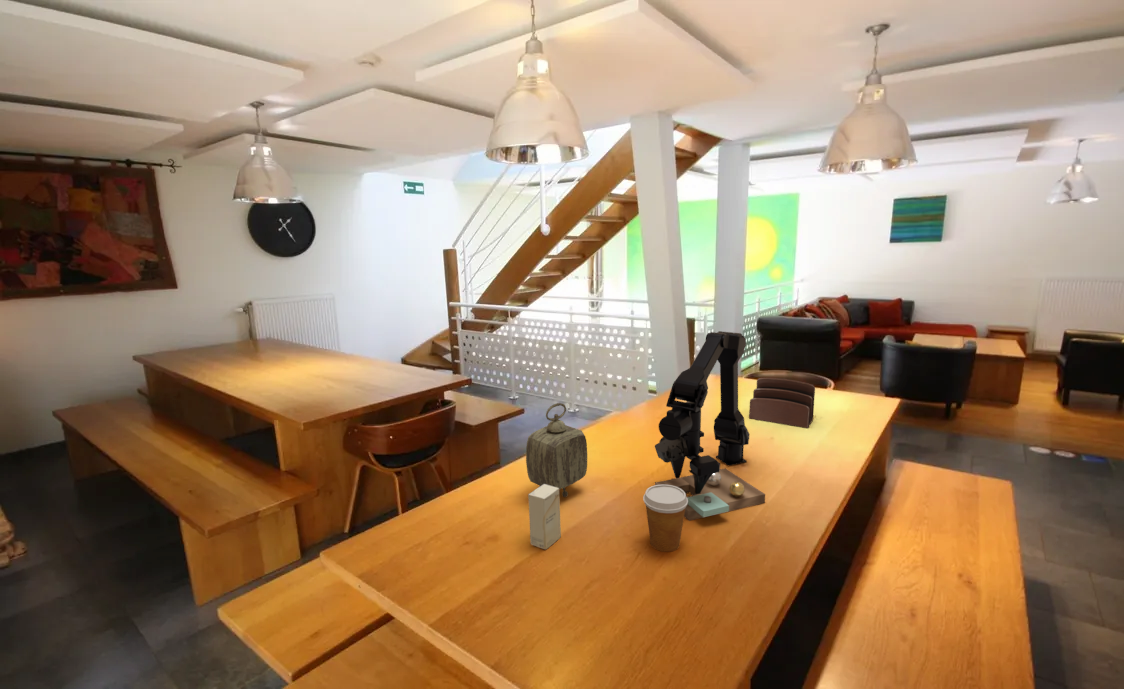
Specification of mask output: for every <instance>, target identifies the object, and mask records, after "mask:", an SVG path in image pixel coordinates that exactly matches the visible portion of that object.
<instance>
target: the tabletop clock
mask: <svg viewBox="0 0 1124 689" xmlns="http://www.w3.org/2000/svg"><path fill="white" fill-rule="evenodd" d="M560 406H562V408H564V409H563V412H562V413H561V414H558V413H555V414H554V415H553V416H554V417H553V418H552V417H549V412H550V411H551V410H552V409H553V408H556V407H560ZM566 412H567V407H566V405H565V404H564V403H563V402H557V403H555V404H552V405H551V406H549V408H547V410H546V412H545V417H546V419H547V420H548V421H549V422H548V423H547V425H546V426H543V427H541V428H539V429H537V430H535V431H533V432H532V433H531V434H530V435H529V436H528V437H527V440H526V447H525V449H526V450H525V454H526V455H525V463H526V470H527V471H526V472H527V476H528V479H529V481H530V482H531V483H534V484H535V485H537V486H538V487H540V486H542V485H543V484H547V485H550V486H554V487H557V488H559V490H561V489H562V492H561V494H562V495H561V496H562V497H563V498H567V497H568V496H569V493H568V491H567V490H566V487H569V486H571V485H573V484H575V483H576V482H578V481H580V480H582V479H583V478H584V477H586V475H587V470H588V444H587V438H586V435H585V434H584V431H583V430H581V429H579V428H576V427H572V426H569V425H566V424H565V422H564V421H563V420H561V418H562V417H564V415H565V414H566Z"/></svg>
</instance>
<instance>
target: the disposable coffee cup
mask: <svg viewBox="0 0 1124 689" xmlns="http://www.w3.org/2000/svg"><path fill="white" fill-rule="evenodd" d="M687 497H688V496H687V493H686V494H685V492H684V491H683V490H682V489H680V488H678V487H676V486H672V485H664V484H661V485H655V484H654V485H652V486H649V487H648V488H646V490H645V492H644V494H643V498H642V499H643V500H642V501H643V502H644V505H645V511H646V518H647V519H646V520H647V526H648V533H649V541H650V545H651V547H652V548H654V549H655V550H657V551H660V552H664V553H668V552H674V551H676V550H678V549H679V548H680V544H681V539H682V538H681V537H682V531H683V526H684V518H685V517H684V513H685V508H686V506H687V504H688V498H687Z"/></svg>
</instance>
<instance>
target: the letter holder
mask: <svg viewBox="0 0 1124 689" xmlns="http://www.w3.org/2000/svg"><path fill="white" fill-rule="evenodd" d="M752 392H753V394H752V395H753V397H752V398H751V399H750V400H749V411H748V412H749V413H748V419H749V420H755V421H761V422H766V423H772V424H773V423H774V424H780V425H784V426H791V427H797V428H803V429H809V428H810V426H811V424H812V422H813V420H814V412H815V410H814V409H815V398H816V397H815V394H816V387H815V385H814V384H812V383H808V382H803V381H800V380H795V379H786V378H779V377H778V378H777V377H776V378H775V377H759V378H757V380H756V388H755V389H754V390H753V391H752Z"/></svg>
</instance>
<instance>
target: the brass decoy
mask: <svg viewBox="0 0 1124 689" xmlns="http://www.w3.org/2000/svg"><path fill="white" fill-rule="evenodd" d="M729 490H730V493H731V494H732V495H733V496H736V497H739V496H742V495H743V494H744V491H745V489H744V486H743V484H742V483H740V482H733V483H731V485H730V487H729Z"/></svg>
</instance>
